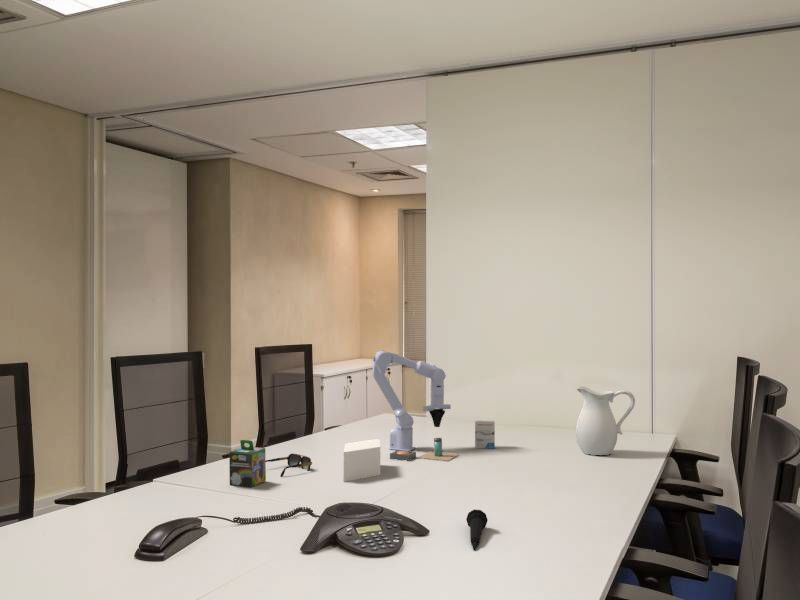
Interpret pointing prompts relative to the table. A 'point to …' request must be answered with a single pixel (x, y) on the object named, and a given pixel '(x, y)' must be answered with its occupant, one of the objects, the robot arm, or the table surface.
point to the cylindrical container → (438, 446)
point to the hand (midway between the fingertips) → (436, 426)
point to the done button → (403, 452)
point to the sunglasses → (295, 462)
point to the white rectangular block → (361, 459)
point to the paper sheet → (444, 456)
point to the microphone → (476, 526)
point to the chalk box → (247, 465)
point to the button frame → (402, 455)
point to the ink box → (484, 434)
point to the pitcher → (599, 421)
